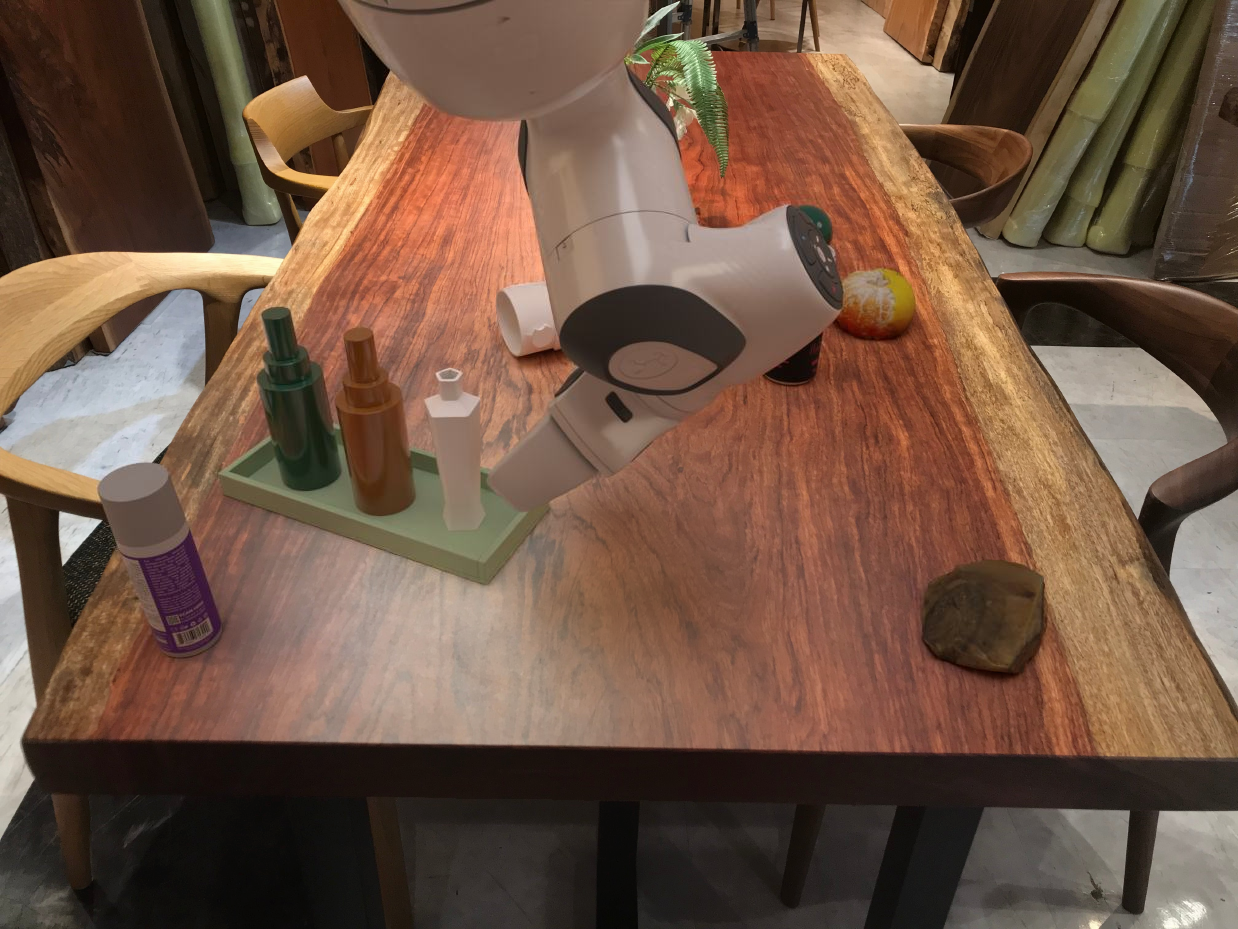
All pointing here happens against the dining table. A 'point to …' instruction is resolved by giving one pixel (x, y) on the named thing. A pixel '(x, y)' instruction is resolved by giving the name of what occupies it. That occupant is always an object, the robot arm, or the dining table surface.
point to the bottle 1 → (296, 408)
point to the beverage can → (799, 362)
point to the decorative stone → (986, 615)
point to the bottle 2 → (374, 431)
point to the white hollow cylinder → (526, 318)
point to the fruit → (876, 304)
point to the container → (161, 558)
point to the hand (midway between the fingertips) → (525, 452)
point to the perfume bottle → (457, 450)
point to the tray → (400, 533)
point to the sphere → (819, 220)
